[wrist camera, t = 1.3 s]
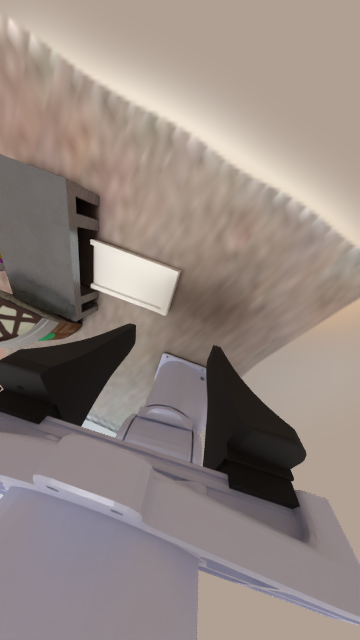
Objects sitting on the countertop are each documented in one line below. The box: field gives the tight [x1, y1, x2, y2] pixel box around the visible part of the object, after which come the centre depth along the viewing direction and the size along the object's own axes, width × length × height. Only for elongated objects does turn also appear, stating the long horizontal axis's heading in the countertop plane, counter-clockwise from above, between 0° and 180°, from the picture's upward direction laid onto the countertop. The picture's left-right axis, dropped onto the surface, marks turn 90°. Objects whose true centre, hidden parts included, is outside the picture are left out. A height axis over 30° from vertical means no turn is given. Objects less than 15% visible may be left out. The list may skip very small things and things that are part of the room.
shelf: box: [0, 155, 99, 321], centre depth 18 cm, size 10×16×4 cm, turn 162°
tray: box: [90, 239, 181, 316], centre depth 19 cm, size 12×6×2 cm, turn 72°
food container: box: [0, 290, 82, 348], centre depth 20 cm, size 12×6×10 cm
